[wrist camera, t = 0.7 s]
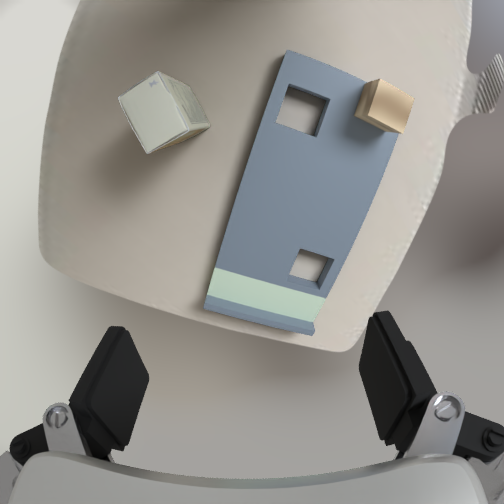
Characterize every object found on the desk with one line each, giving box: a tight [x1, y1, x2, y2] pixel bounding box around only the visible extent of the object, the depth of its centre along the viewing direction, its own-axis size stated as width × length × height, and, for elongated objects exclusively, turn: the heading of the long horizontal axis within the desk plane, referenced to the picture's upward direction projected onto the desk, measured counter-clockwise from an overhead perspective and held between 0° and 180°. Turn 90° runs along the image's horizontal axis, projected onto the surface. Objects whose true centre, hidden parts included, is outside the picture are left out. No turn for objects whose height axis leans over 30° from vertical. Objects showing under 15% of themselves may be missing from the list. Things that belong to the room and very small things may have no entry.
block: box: [354, 79, 414, 134], centre depth 26 cm, size 4×4×4 cm
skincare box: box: [118, 71, 210, 154], centre depth 25 cm, size 6×4×12 cm
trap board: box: [203, 50, 399, 336], centre depth 34 cm, size 34×16×4 cm, turn 162°
